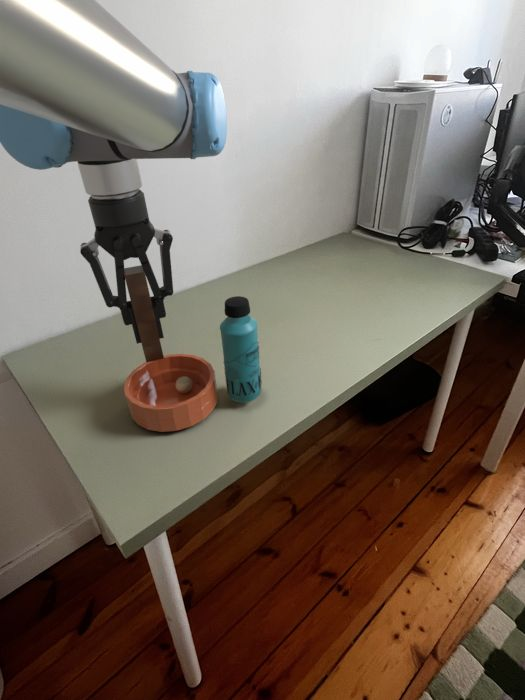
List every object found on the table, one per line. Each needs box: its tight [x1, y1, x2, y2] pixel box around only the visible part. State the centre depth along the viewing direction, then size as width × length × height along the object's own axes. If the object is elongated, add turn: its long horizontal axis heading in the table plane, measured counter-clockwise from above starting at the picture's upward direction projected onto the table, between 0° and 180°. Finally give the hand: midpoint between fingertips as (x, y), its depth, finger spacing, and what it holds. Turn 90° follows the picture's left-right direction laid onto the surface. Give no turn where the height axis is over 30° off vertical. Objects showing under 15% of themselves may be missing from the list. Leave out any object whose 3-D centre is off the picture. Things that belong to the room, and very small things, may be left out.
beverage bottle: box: [219, 295, 263, 403], centre depth 74 cm, size 6×7×20 cm
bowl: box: [123, 353, 219, 433], centre depth 77 cm, size 16×16×6 cm
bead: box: [175, 376, 193, 394], centre depth 79 cm, size 3×3×3 cm
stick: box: [124, 264, 165, 362], centre depth 70 cm, size 3×3×16 cm
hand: (149, 336), depth 73 cm, fingers closed on stick, 3 cm apart
